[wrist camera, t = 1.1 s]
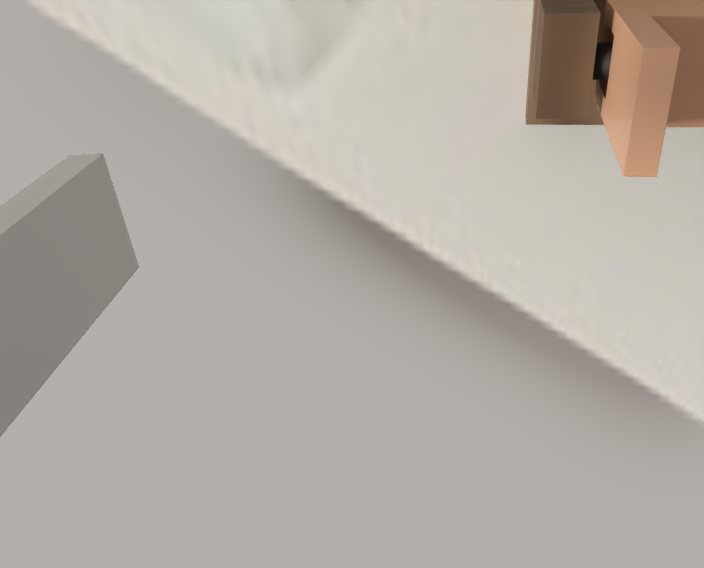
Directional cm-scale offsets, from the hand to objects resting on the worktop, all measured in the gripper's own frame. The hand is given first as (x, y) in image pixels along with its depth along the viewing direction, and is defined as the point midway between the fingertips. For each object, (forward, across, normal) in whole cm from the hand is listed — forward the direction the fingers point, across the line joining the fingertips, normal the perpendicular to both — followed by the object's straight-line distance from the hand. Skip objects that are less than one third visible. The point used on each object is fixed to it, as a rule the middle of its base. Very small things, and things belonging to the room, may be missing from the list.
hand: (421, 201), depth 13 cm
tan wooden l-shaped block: (+18, -8, +2) cm, 20 cm away
